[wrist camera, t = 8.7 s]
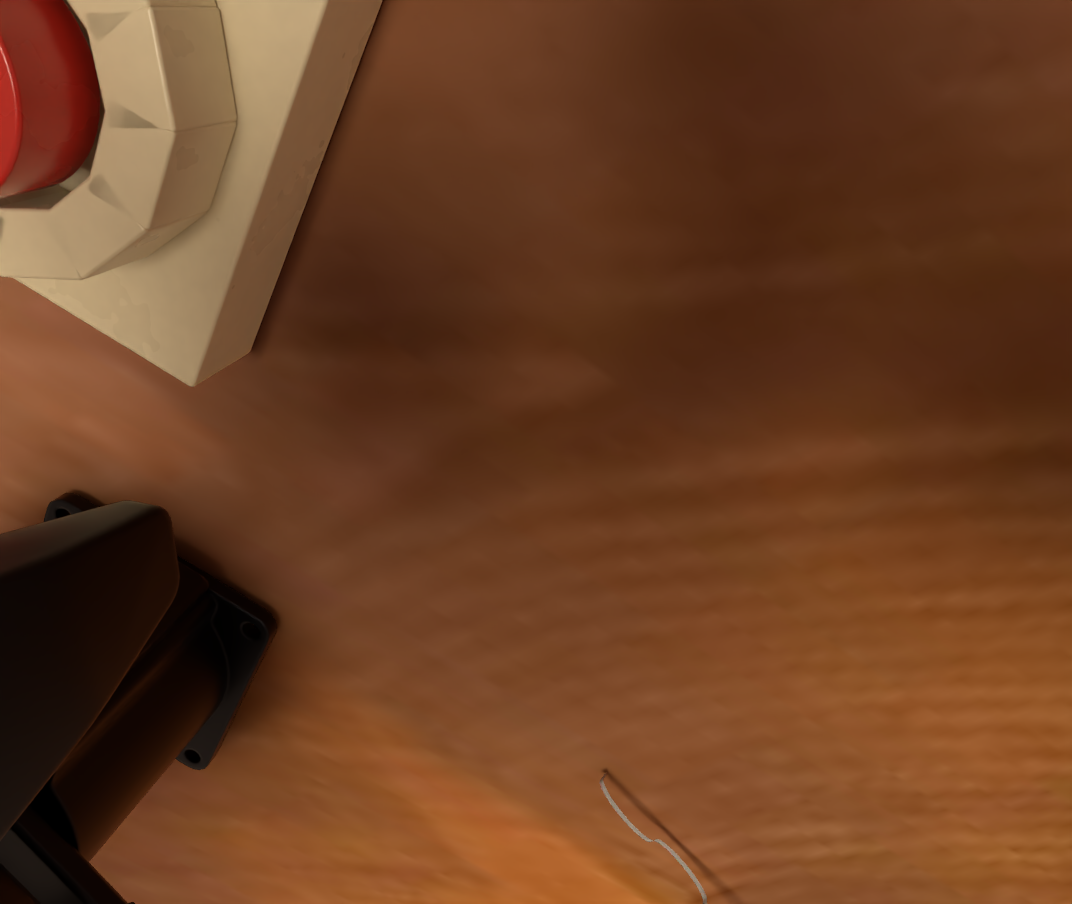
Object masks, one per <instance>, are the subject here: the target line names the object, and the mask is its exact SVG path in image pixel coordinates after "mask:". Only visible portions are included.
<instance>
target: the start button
mask: <svg viewBox="0 0 1072 904" xmlns="http://www.w3.org/2000/svg"><path fill="white" fill-rule="evenodd" d="M99 120H100V88H99V82H98V77H97V72H96V68H95V63H94V60H93V56H92V53H91V51H90V48H89V45H88V43H87V40H86V38H85V36H84V34H83V32H82V30H81V28H80V25H79V23H78V22H77V20H76V19H75V17H74V15H73V14H72V12H71V10H70V9H69V7H68V6H67V5H66V3H65V2H64V1H63V0H0V198H5V197H9V196H14V195H18V194H22V193H27V192H31V191H36V190H40V189H44V188H48V187H52V186H55V185H57V184H59V183H62V182H63V181H65V180H66V179H68V178H69V177H71V176H72V175H73V174H74V173H75V172H76V171H77V170H78V169H79V168H80V167H81V166H82V164H83V163H84V161H85V160H86V158H87V157H88V155H89V153H90V151H91V149H92V147H93V145H94V142H95V138H96V135H97V132H98V126H99Z"/></svg>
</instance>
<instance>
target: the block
mask: <svg viewBox="0 0 1072 904" xmlns="http://www.w3.org/2000/svg"><path fill="white" fill-rule="evenodd" d="M63 1H64V2H65V3H66V5H67V6H68V7H69V9H70V10H71V12H72V14H73V15H74V17H75V19H76V20H77V22H78V23H79V25H80V28H81V30H82V32H83V34H84V36H85V38H86V40H87V43H88V45H89V48H90V51H91V53H92V56H93V60H94V63H95V68H96V72H97V77H98V82H99V88H100V120H99V126H98V132H97V135H96V138H95V142H94V145H93V147H92V149H91V151H90V153H89V155H88V157H87V158H86V160H85V161H84V163H83V164H82V166H81V167H80V168H79V169H78V170H77V171H76V172H75V173H74V174H73V175H72V176H71V177H69V178H68V179H66V180H65V181H63V182H62V183H59V184H57V185H55V186H52V187H48V188H44V189H40V190H36V191H31V192H27V193H22V194H18V195H14V196H9V197H5V198H0V276H2V277H12V278H14V279H16V280H17V281H19V282H20V283H22V284H24V285H25V286H27V287H29V288H30V289H32V290H34V291H35V292H37V293H38V294H40V295H42V296H43V297H45V298H47V299H48V300H50V301H51V302H53V303H55V304H56V305H58V306H60V307H61V308H63V309H65V310H66V311H68V312H69V313H71V314H73V315H74V316H76V317H78V318H79V319H81V320H82V321H84V322H86V323H87V324H89V325H91V326H92V327H94V328H96V329H97V330H99V331H100V332H102V333H104V334H105V335H107V336H109V337H110V338H112V339H113V340H115V341H117V342H118V343H120V344H122V345H123V346H125V347H126V348H128V349H130V350H131V351H133V352H135V353H136V354H138V355H140V356H141V357H143V358H144V359H146V360H148V361H149V362H151V363H153V364H154V365H156V366H157V367H159V368H161V369H162V370H164V371H166V372H167V373H169V374H171V375H172V376H174V377H175V378H177V379H179V380H180V381H182V382H184V383H185V384H187V385H188V386H191V387H194V386H196V385H198V384H199V383H201V382H203V381H204V380H206V379H207V378H209V377H211V376H212V375H214V374H216V373H217V372H219V371H221V370H222V369H224V368H225V367H227V366H229V365H230V364H232V363H234V362H235V361H237V360H239V359H240V358H242V357H243V356H245V355H247V354H248V353H249V352H250V351H251V348H252V345H253V343H254V340H255V337H256V335H257V332H258V330H259V327H260V324H261V322H262V319H263V316H264V314H265V311H266V308H267V306H268V303H269V300H270V298H271V295H272V292H273V290H274V287H275V284H276V282H277V279H278V277H279V274H280V271H281V269H282V266H283V263H284V261H285V258H286V255H287V253H288V250H289V247H290V245H291V242H292V239H293V237H294V234H295V231H296V229H297V226H298V224H299V221H300V218H301V216H302V213H303V210H304V208H305V205H306V202H307V200H308V197H309V194H310V192H311V189H312V186H313V184H314V181H315V178H316V176H317V173H318V170H319V168H320V165H321V163H322V160H323V157H324V155H325V152H326V149H327V147H328V144H329V141H330V139H331V136H332V133H333V131H334V128H335V125H336V123H337V120H338V117H339V115H340V112H341V110H342V107H343V104H344V102H345V99H346V96H347V94H348V91H349V88H350V86H351V83H352V80H353V78H354V75H355V72H356V70H357V67H358V64H359V62H360V59H361V56H362V54H363V51H364V49H365V46H366V43H367V41H368V38H369V35H370V33H371V30H372V27H373V25H374V22H375V19H376V17H377V14H378V11H379V9H380V6H381V3H382V1H383V0H63Z"/></svg>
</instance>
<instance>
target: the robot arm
mask: <svg viewBox="0 0 1072 904" xmlns="http://www.w3.org/2000/svg"><path fill="white" fill-rule="evenodd" d="M252 624H253V625H255V626H256V627H257V628H258V629H256V628H255V627H254V626H253V625H252ZM276 629H277V625H276V621H275V619H274V618H273V616H272V615H271V614H270V613H269V612H268V611H267V610H266V609H264V608H262V607H261V606H259V605H257V604H256V603H254V602H253V601H251V600H249V599H248V598H246V597H244V596H243V595H241V594H239V593H238V592H236V591H235V590H233V589H231V588H230V587H228V586H226V585H225V584H223V583H221V582H220V581H218V580H217V579H215V578H213V577H212V576H210V575H208V574H207V573H205V572H203V571H202V570H200V569H199V568H197V567H195V566H194V565H192V564H190V563H189V562H187V561H185V560H184V559H182V558H181V557H179V556H177V554H176V547H175V540H174V534H173V527H172V521H171V517H170V516H169V514H168V512H167V511H166V510H165V509H163V508H162V507H160V506H156V505H151V504H146V503H140V502H135V501H120V502H117V503H113V504H109V505H106V506H102V507H97V506H96V505H94V504H92V503H91V502H89V501H87V500H86V499H84V498H82V497H81V496H79V495H77V494H74V493H65V494H63V495H61V496H59V497H58V498H56V499H55V500H53V501H51V502H50V504H49V505H48V507H47V511H46V514H45V518H44V522H43V523H40V524H36V525H32V526H29V527H25V528H21V529H18V530H14V531H10V532H7V533H3V534H0V904H135V903H134V902H131V903H127V902H126V901H125V900H124V899H123V898H122V896H121V895H120V894H119V893H118V892H117V891H116V890H115V889H114V888H113V887H112V886H111V885H110V884H109V883H108V882H107V881H106V880H105V879H104V878H103V877H102V876H101V875H100V874H99V873H98V871H97V870H96V869H95V868H94V867H93V866H92V865H91V864H90V863H89V861H90V860H91V859H92V858H93V856H94V855H95V854H96V853H97V852H98V850H99V849H100V848H101V847H102V846H103V844H104V843H105V842H106V841H107V840H108V839H109V837H110V836H111V835H112V834H113V833H114V831H115V830H116V829H117V828H118V827H119V825H120V824H121V823H122V822H123V821H124V819H125V818H126V817H127V816H128V815H129V813H130V812H131V811H132V810H133V809H134V808H135V806H136V805H137V804H138V803H139V802H140V800H141V799H142V798H143V797H144V796H145V794H146V793H147V792H148V791H149V790H150V788H151V787H152V786H153V785H154V784H155V782H156V781H157V780H158V779H159V778H160V777H161V775H162V774H163V773H164V772H165V771H166V769H167V768H168V767H169V766H170V765H171V763H172V762H173V761H174V760H175V759H177V760H178V761H180V762H181V763H183V764H185V765H186V766H188V767H190V768H193V769H197V770H201V769H205V768H206V767H207V766H208V764H209V763H210V762H211V761H212V759H213V758H214V757H215V755H216V754H217V751H218V749H219V747H220V745H221V743H222V741H223V739H224V737H225V735H226V733H227V731H228V729H229V727H230V725H231V723H232V721H233V719H234V717H235V715H236V713H237V711H238V709H239V707H240V705H241V703H242V700H243V698H244V696H245V694H246V692H247V690H248V688H249V686H250V684H251V682H252V680H253V678H254V676H255V674H256V672H257V670H258V668H259V666H260V664H261V662H262V660H263V658H264V656H265V654H266V652H267V650H268V647H269V645H270V643H271V641H272V639H273V637H274V635H275V633H276Z"/></svg>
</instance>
